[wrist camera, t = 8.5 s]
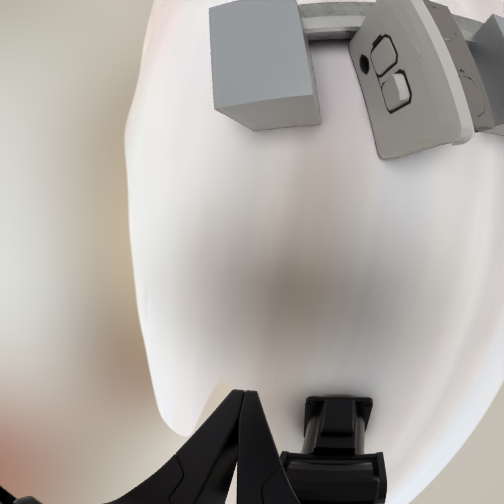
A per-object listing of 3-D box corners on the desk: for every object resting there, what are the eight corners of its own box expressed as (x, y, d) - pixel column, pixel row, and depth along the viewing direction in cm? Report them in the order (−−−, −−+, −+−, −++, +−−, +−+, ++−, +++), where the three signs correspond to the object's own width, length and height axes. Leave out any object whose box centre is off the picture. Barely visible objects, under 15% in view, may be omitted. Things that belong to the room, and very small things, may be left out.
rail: (509, 72, 11) (527, 61, 7) (240, 61, 18) (224, 43, 15) (501, 50, 10) (517, 36, 7) (238, 38, 17) (222, 19, 14)
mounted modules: (520, 139, 12) (570, 131, 6) (253, 131, 19) (214, 109, 13) (502, 61, 10) (539, 34, 4) (245, 49, 17) (208, 6, 11)
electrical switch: (346, 46, 15) (362, -29, 7) (405, 46, 14) (447, -16, 5) (377, 161, 17) (431, 142, 8) (438, 156, 16) (514, 143, 7)
